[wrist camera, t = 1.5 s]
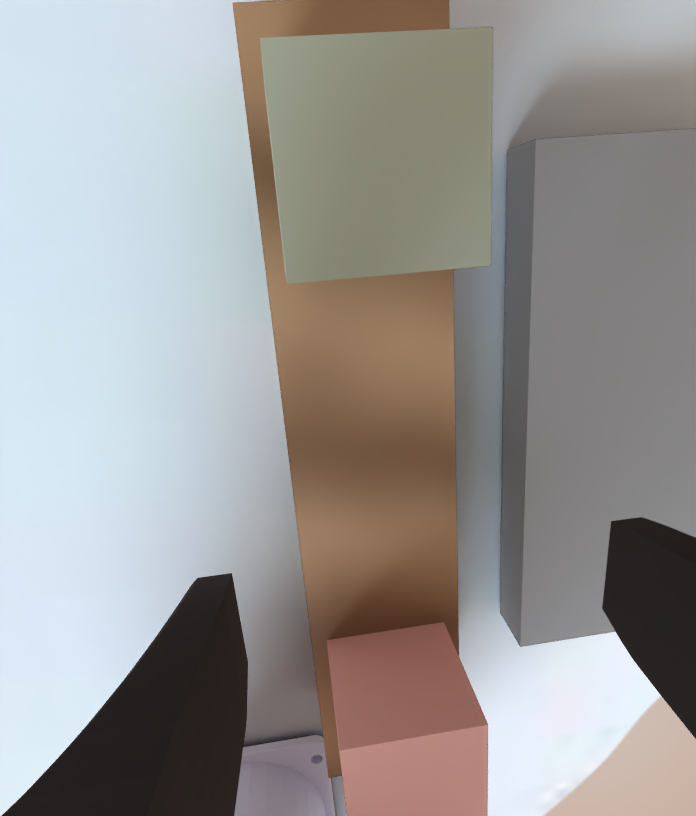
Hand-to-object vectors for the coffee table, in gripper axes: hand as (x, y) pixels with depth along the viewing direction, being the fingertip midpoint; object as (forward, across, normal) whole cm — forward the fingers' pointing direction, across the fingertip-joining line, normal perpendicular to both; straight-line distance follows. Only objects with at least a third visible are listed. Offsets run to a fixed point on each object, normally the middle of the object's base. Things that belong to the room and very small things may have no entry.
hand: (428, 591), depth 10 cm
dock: (+10, -9, +1) cm, 13 cm away
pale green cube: (+6, 0, -8) cm, 10 cm away
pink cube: (+6, 0, +8) cm, 10 cm away
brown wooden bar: (+10, 0, +1) cm, 10 cm away
